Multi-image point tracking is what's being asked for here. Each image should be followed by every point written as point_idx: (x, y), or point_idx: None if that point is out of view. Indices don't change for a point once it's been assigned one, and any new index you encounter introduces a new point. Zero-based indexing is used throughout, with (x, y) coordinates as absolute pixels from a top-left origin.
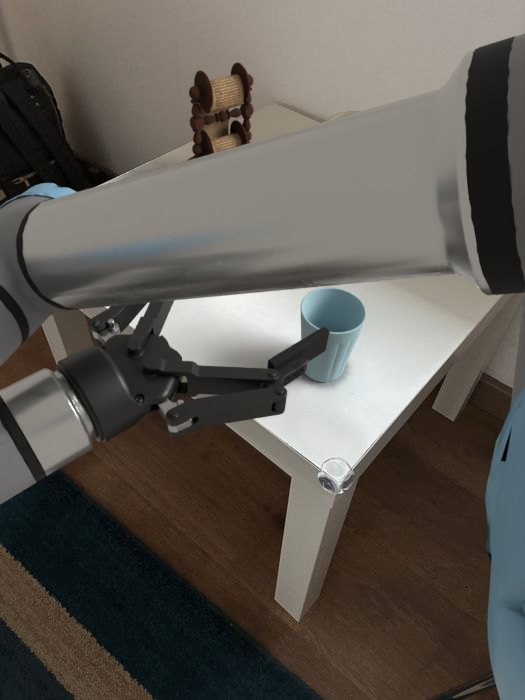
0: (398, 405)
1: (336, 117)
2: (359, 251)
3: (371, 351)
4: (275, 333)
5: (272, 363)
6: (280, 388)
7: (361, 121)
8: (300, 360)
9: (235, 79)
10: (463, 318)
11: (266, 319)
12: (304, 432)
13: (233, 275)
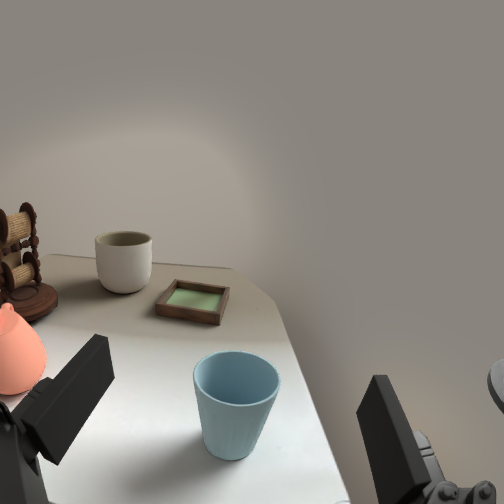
0: (319, 428)
1: (100, 237)
2: None
3: None
4: (154, 434)
5: (427, 481)
6: (484, 487)
7: None
8: (418, 441)
9: (23, 214)
10: (280, 341)
11: (133, 423)
12: None
13: None
